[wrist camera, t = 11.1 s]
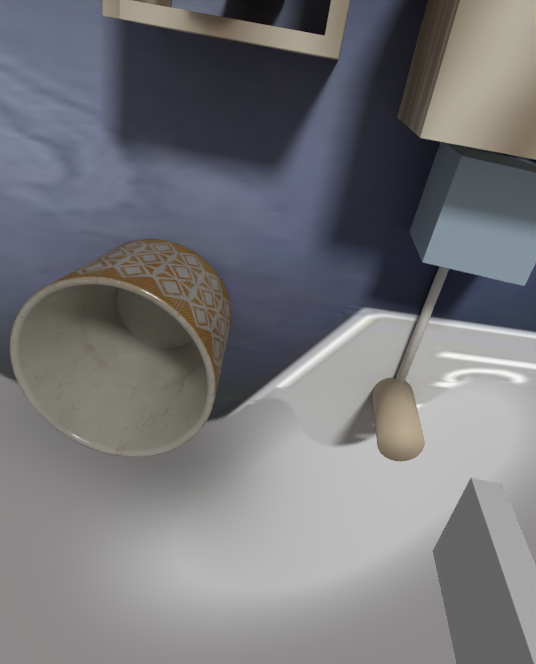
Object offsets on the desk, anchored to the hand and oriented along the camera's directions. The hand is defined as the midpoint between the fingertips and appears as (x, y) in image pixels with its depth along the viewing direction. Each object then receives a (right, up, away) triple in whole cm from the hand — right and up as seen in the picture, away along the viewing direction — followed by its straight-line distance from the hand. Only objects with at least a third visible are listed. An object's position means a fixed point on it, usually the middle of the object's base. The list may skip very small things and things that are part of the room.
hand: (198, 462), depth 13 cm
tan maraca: (+13, +6, +24) cm, 28 cm away
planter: (-6, +6, +27) cm, 28 cm away
